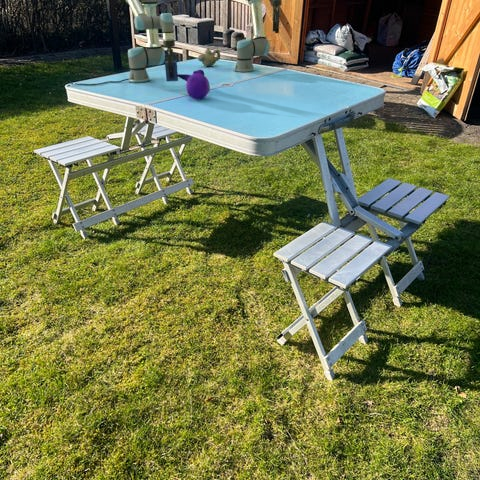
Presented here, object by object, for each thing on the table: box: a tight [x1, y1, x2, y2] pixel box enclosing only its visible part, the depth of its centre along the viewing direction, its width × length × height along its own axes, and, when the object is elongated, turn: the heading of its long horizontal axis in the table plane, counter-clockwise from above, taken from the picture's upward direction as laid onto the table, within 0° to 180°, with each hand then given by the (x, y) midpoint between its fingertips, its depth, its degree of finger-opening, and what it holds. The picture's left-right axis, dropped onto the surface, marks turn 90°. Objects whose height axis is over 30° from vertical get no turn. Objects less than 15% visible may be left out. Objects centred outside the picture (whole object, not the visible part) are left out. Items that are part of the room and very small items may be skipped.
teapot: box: [197, 47, 221, 68], centre depth 386 cm, size 21×12×15 cm, turn 120°
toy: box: [176, 69, 211, 100], centre depth 285 cm, size 16×18×27 cm
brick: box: [164, 60, 179, 82], centre depth 302 cm, size 8×5×12 cm, turn 94°
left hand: (172, 77), depth 304 cm, fingers closed on brick, 5 cm apart
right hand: (275, 32), depth 329 cm, fingers open, 13 cm apart
